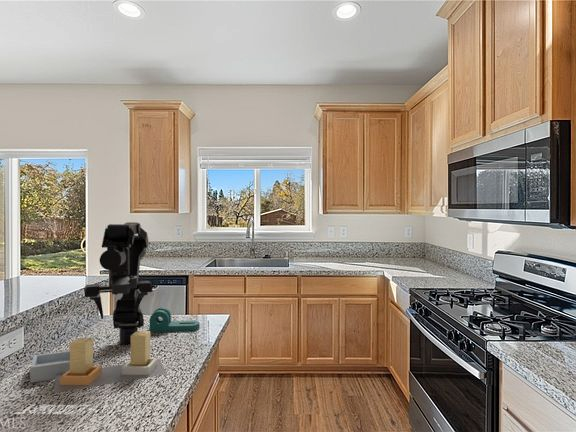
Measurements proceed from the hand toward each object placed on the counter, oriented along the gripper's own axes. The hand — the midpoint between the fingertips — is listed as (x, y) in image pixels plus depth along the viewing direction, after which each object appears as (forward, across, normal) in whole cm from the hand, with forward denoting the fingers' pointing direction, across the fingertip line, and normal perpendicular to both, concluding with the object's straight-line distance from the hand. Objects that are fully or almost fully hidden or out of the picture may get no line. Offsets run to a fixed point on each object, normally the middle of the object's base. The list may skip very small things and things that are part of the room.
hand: (118, 316), depth 123 cm
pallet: (+13, -4, -15) cm, 20 cm away
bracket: (+13, +22, +25) cm, 36 cm away
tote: (+13, -17, -3) cm, 22 cm away
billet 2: (+12, +4, -15) cm, 19 cm away
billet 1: (+12, -10, -15) cm, 21 cm away
